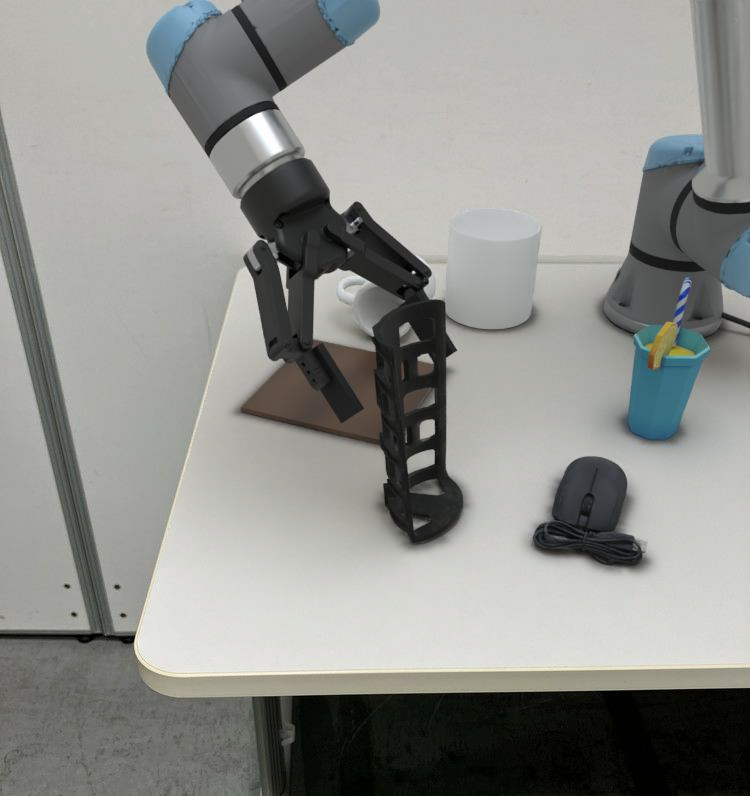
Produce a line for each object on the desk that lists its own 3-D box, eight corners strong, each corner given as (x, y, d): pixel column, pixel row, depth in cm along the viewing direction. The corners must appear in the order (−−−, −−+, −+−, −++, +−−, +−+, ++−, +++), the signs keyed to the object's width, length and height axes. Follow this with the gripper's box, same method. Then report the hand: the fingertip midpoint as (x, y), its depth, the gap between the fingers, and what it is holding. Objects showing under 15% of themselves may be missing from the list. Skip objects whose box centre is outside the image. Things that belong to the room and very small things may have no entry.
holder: (454, 549, 84) (446, 351, 72) (373, 544, 85) (353, 349, 74) (469, 481, 93) (464, 294, 81) (395, 478, 94) (380, 294, 83)
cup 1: (548, 318, 123) (560, 231, 115) (475, 337, 118) (483, 247, 111) (497, 285, 131) (506, 202, 123) (427, 302, 126) (432, 216, 119)
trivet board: (444, 370, 111) (445, 366, 111) (391, 447, 98) (391, 442, 97) (309, 342, 116) (309, 338, 116) (240, 411, 103) (240, 407, 102)
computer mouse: (647, 479, 94) (655, 448, 91) (642, 571, 82) (651, 538, 80) (548, 463, 96) (553, 432, 93) (530, 551, 84) (535, 518, 82)
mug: (434, 313, 123) (438, 256, 118) (411, 346, 116) (413, 286, 111) (351, 299, 126) (351, 243, 122) (323, 330, 119) (322, 271, 114)
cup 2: (627, 386, 108) (653, 266, 99) (695, 400, 106) (727, 278, 97) (606, 447, 98) (632, 319, 89) (680, 464, 96) (715, 334, 87)
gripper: (342, 170, 91) (455, 352, 93) (145, 241, 76) (285, 459, 77) (385, 124, 86) (505, 320, 87) (181, 192, 70) (331, 428, 72)
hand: (402, 385), depth 82 cm, fingers open, 13 cm apart
